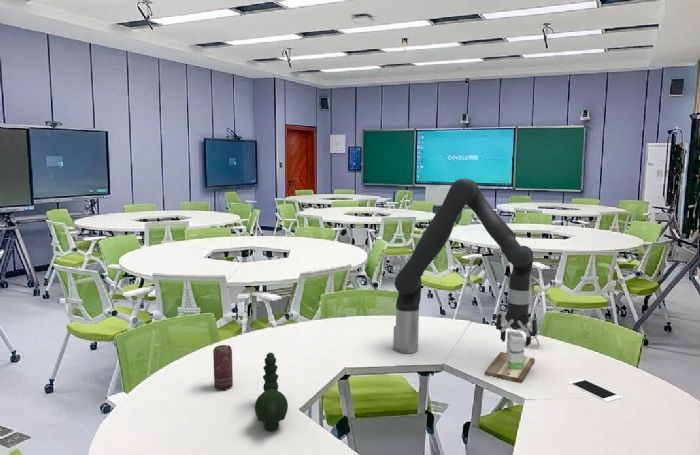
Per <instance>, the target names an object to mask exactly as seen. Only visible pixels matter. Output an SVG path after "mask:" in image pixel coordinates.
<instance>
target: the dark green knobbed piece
mask: <svg viewBox="0 0 700 455" xmlns="http://www.w3.org/2000/svg"><path fill="white" fill-rule="evenodd" d="M264 364H265V365H264V366H263V368H262V369H263V371H264V375H263V376H262V379H263V380H264V383H263V388H262V389H263V392H262V393H260V395H259V396H258V397H257V398H256V401H255V404H254V413H255V415H256V417H257V420H258V421H259V422H261V423H264V424H263V428H264V429H265V431H269V432H274V431H276V430H279V428H280V422H281V421H284V420H285V419H286V416H287V413H288V409H289V402H288V400H287V398H286V397H287V396H285V394H283V393H282V392H281V391H280V390H279V383H278V378H279V375H278V374H277V370H278V365H276V364H277V357H275V354H274V352H268V353H267V354H266V356H265V358H264Z"/></svg>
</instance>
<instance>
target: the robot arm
mask: <svg viewBox="0 0 700 455" xmlns="http://www.w3.org/2000/svg"><path fill="white" fill-rule="evenodd" d="M466 206H467V207H468V208H469V209H470V210H472V212H473V213H474V215H476V217H478V219H479V221H480V222H481V224H482V226H483V227H484V229H485V230H486V232H487V233H488V235H489V236H490V237H491V238H492V239H493V240H494V242H495V243H496V244H497V245H498V247H499V248H500V249H501V251H502V252H503V254H504V256H505V258H506V259H507V261H508V262H509V263H510V264H511V265H512V272H511V273H510V276H509V283H508V292H507V299H506V302H507V305H506V314H504V313H503V312H499V313H498V314H497V317H496V324H495V329H496V330H498V331H500V340H501V342H503V343H504V342H506V338H507V337H506V334H507V331H506V330H507V329H508V328H509V327H510V328H511V329H512V328H513V329H518V330H522V331H523V332H524V333H525V335H526V336H525V341H526V345H525V347H529V346H530V345H531V344H532V340H531V338H532V337H533V336H536V334H538V327H537V324H538V323H537V321H538V319H537V318H536V317H535V318H534V319H531V318H530V319H529V317H530V316H529V314H528V312H529V308H530V307H529V306H530V305H529V303H530V301H531V299H529V298H530V290H529V289H530V286H531V285H530V284H531V282H530V280H531V279H530V278H531V276H530V275H531V273H532V268H533V263H534V262H533V261H534V253H533V250H532V249H531V248H530V247H529V246H527V245H521V244H520V242H519V241H518V240H517V239H516V238H517V237H516V234H515V232H514V231H513V230H512V229H511V228H510V227H509V226H508V224H507V223H506V222H505V221H504V220H503V219H502V218H501V216H499V215H500V214H498V213H497V212H496V211H495V210H494V209H493V207H492V206H491V204H490V203H489V202H488V201H487V199H486V197H485V196H484V194H483V192H482V191H481V189H480V188H479V186H478V184H477V183H476V182H475V181H474V180H472V179H470V178H458V179H457V180H455V181H454V182H453V183H452V184H451V185H450V188H449V189H448V191H447V194H446V196H445V198H444V200H443V202H442V204H441V206H440V207H439V209H438V211H437V212H436V213H435V214H434V217H433V218H432V219H431V221H430V222H429V224H428V225H427V227H426V228H425V230H424V231H423V233H422V235H421V237H420V238H419V240H418V242H417V244H416V245H415V248H414V250H413V252H412V253H411V256H410V258H409V259H408V260H407V262H405V265H403V267H402V268H401V270H400V271H399V273H397V274H396V276H395V278H394V286H395V289H396V291H397V292H398V295H397V298H396V303H395V326H393V340H392V342H393V343H392V344H393V345H392V346H393V347H392V348H393V349H392V350H395V352H396V351H397V352H399V353H401V354H414V353H416V352H418V351H419V329H420V328H419V323H420V303H421V299H422V298H421V297H422V276H423V274H424V272H425V270H426V269H427V268H428V267H429V265H430V264H431V263H432V262H433V261H434V260H435V258H436V257H437V256H438V255H439V253H441V251H442V250H443V248H444V247H445V246H446V243H447V242H448V240H449V238H450V236H451V234H452V231H453V229H454V225H455V222H456V220H457V218H458V216H459V215H460V213H461V212H462V211H463V209H464V208H465V207H466ZM529 285H530V286H529ZM504 319H505V320H506V323H505V324H504V326H502V320H504ZM529 323H530V325H532V326H531V329H530V327H528V326H529V325H528V324H529Z"/></svg>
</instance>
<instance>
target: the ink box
mask: <svg viewBox="0 0 700 455" xmlns="http://www.w3.org/2000/svg"><path fill="white" fill-rule="evenodd" d="M506 334H507V337H506V352H505V353H506V361H507V363H508V365H509V367H510V369H523V364H524V356H525V344H524V342H525V341H526V338H524V335H523V334H522V333H521V331H517V330H507V332H506Z"/></svg>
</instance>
